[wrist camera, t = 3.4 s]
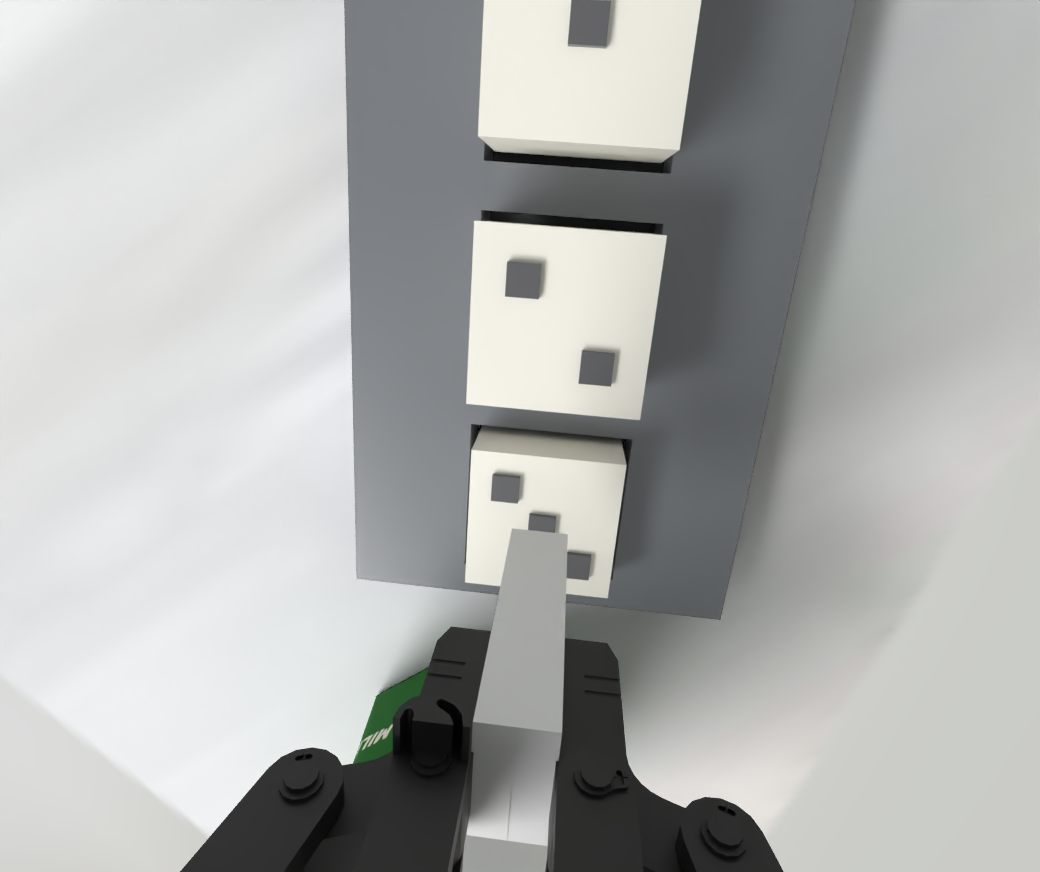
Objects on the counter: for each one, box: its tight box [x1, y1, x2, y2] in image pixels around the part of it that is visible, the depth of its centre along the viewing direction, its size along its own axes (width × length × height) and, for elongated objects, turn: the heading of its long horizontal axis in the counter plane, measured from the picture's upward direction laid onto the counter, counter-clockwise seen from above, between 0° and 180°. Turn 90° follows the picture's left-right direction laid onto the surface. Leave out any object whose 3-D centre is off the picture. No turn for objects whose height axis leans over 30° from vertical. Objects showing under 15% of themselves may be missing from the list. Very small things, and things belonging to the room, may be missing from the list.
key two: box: [466, 221, 667, 420], centre depth 18 cm, size 5×5×4 cm
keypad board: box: [344, 0, 856, 620], centre depth 21 cm, size 22×14×2 cm, turn 176°
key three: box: [465, 425, 627, 598], centre depth 22 cm, size 5×5×4 cm
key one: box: [478, 0, 701, 163], centre depth 16 cm, size 5×5×4 cm
